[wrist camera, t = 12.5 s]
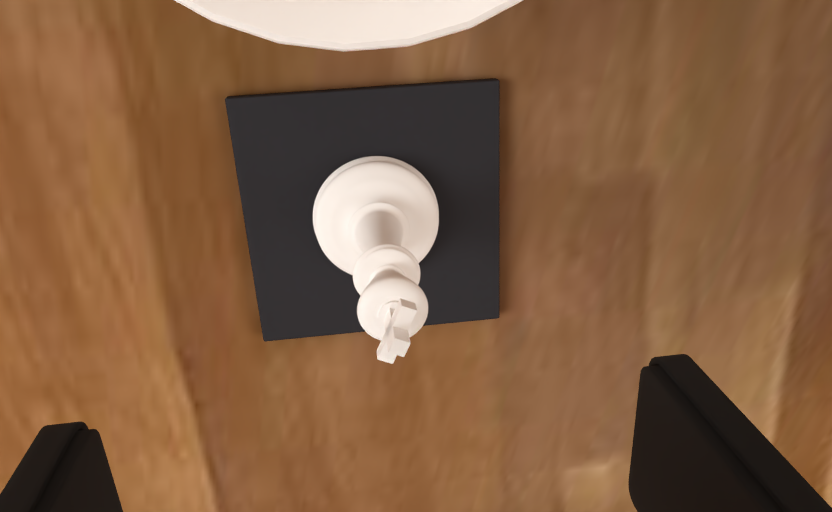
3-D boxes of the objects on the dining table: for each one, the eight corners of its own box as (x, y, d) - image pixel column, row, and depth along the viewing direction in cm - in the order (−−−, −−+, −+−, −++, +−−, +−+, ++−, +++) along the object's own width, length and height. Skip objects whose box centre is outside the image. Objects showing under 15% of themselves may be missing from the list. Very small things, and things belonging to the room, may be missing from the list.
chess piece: (458, 182, 26) (527, 294, 16) (409, 289, 27) (448, 447, 18) (338, 136, 24) (340, 230, 15) (295, 251, 26) (273, 399, 17)
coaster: (264, 336, 28) (263, 341, 27) (226, 96, 24) (224, 98, 23) (496, 313, 29) (499, 318, 28) (496, 78, 25) (499, 79, 24)
